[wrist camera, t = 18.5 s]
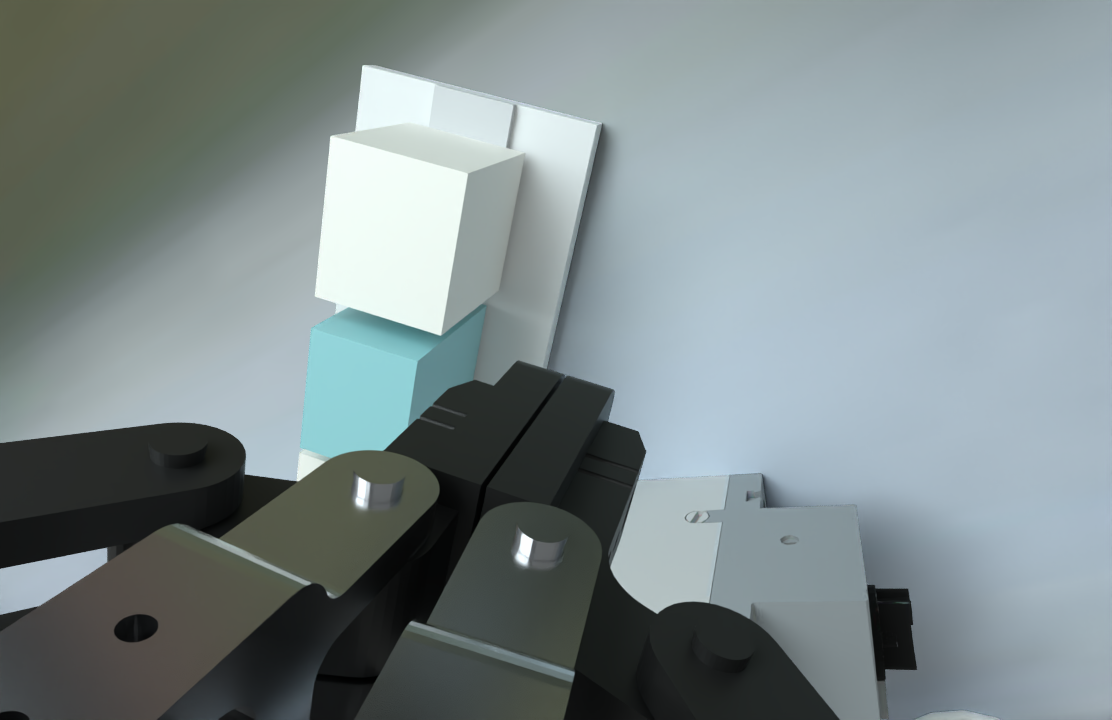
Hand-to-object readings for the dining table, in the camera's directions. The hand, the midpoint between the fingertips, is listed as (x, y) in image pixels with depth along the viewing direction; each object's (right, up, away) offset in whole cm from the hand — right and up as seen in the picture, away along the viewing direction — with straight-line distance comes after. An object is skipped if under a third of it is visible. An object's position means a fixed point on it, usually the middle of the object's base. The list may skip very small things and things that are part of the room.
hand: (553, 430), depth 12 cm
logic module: (-6, +2, +31) cm, 32 cm away
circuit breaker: (+11, -8, +32) cm, 35 cm away
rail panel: (-6, +2, +33) cm, 34 cm away
